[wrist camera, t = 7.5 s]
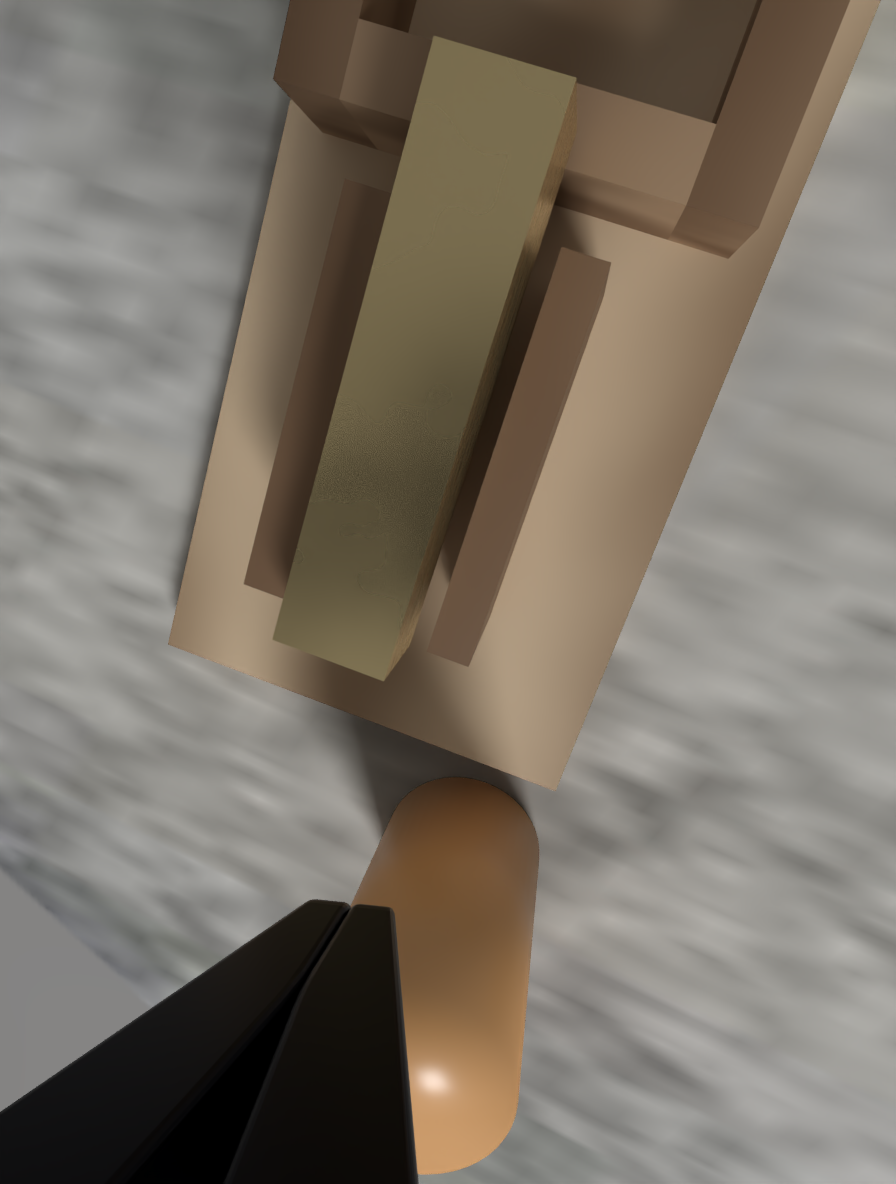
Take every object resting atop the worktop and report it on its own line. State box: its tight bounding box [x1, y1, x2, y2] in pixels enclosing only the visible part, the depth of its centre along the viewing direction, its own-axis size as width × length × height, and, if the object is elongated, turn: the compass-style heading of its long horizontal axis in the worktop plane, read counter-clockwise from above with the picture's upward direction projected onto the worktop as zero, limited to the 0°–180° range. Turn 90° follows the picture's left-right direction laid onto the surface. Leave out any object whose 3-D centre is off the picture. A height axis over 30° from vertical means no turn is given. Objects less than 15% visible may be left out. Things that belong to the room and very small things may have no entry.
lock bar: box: [272, 36, 577, 681], centre depth 12 cm, size 2×9×2 cm, turn 162°
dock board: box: [168, 0, 881, 791], centre depth 13 cm, size 10×24×4 cm, turn 162°
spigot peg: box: [350, 777, 539, 1174], centre depth 16 cm, size 4×4×7 cm
